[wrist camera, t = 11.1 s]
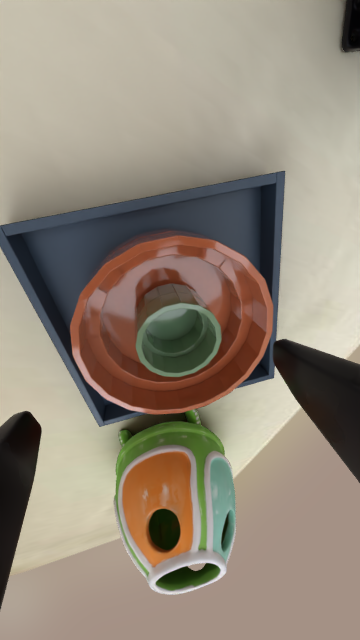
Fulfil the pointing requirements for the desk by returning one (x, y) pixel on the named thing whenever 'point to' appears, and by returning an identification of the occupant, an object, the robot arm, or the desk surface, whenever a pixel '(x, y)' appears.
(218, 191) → the tray
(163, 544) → the turtle holder
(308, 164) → the desk surface
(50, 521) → the desk surface
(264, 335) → the terracotta bowl
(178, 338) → the sage bowl
